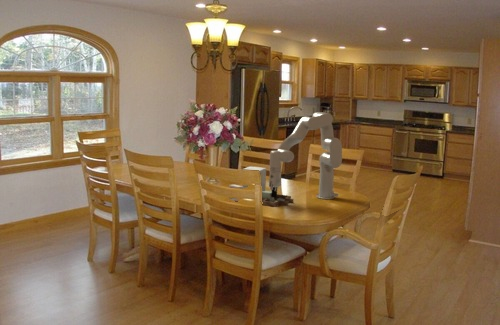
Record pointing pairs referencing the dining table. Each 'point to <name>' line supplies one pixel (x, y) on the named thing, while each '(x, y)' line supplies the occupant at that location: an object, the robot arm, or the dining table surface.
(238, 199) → the ink box
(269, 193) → the block
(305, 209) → the dining table surface
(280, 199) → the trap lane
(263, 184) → the supplement box
